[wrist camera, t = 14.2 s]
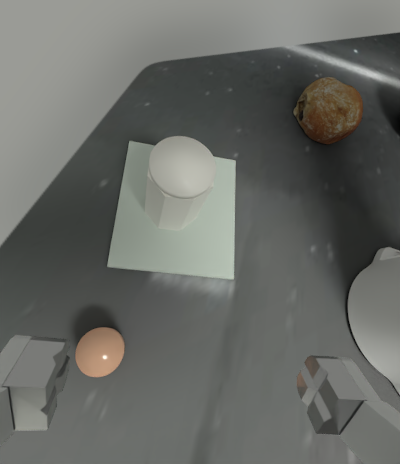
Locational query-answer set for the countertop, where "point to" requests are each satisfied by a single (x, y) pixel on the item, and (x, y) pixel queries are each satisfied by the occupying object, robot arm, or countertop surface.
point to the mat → (170, 241)
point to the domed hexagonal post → (178, 181)
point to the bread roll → (329, 110)
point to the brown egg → (100, 351)
